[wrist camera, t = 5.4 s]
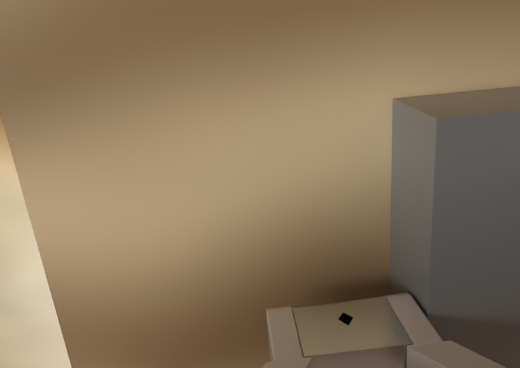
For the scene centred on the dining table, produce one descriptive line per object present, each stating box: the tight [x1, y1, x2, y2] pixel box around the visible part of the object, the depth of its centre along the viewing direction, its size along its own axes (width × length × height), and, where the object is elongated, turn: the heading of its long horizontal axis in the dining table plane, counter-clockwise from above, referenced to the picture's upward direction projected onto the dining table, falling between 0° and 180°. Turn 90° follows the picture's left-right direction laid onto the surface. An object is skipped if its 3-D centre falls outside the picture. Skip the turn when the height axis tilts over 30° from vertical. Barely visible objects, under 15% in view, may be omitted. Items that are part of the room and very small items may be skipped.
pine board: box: [0, 0, 520, 368], centre depth 12 cm, size 20×14×4 cm
